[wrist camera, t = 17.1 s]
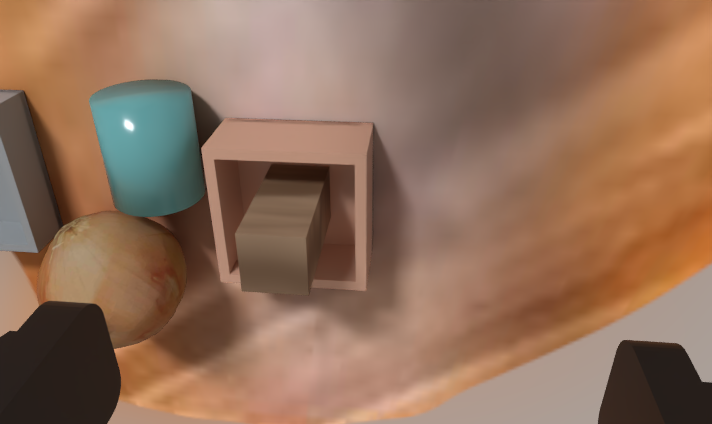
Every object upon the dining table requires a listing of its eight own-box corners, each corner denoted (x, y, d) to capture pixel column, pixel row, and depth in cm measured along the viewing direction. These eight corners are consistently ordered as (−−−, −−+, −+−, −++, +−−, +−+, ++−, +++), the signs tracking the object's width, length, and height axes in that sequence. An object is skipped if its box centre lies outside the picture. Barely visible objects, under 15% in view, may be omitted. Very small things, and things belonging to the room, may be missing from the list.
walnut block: (271, 164, 41) (234, 233, 33) (329, 166, 41) (305, 237, 33) (275, 214, 43) (241, 291, 35) (330, 217, 43) (308, 295, 35)
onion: (136, 160, 43) (62, 235, 34) (231, 256, 46) (185, 346, 38) (55, 226, 47) (-29, 308, 38) (149, 310, 50) (90, 403, 41)
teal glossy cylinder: (119, 77, 40) (68, 109, 35) (205, 81, 39) (166, 114, 34) (139, 171, 44) (95, 213, 39) (218, 177, 43) (184, 220, 38)
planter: (225, 117, 40) (201, 148, 36) (373, 122, 40) (366, 154, 35) (240, 242, 46) (220, 282, 41) (372, 249, 45) (366, 290, 40)
